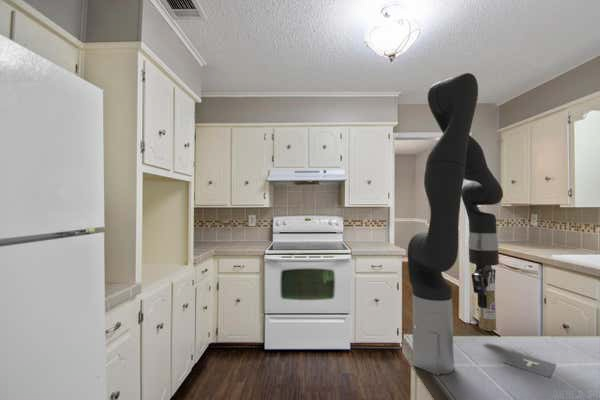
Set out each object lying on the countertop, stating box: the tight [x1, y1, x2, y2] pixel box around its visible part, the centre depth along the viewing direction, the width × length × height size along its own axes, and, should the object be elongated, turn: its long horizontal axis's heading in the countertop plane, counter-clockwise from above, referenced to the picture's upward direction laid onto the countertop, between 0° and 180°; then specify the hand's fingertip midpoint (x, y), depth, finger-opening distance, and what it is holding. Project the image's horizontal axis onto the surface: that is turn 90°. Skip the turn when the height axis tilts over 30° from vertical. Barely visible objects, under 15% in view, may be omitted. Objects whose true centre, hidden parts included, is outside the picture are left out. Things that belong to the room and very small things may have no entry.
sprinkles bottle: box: [477, 282, 497, 332], centre depth 84 cm, size 5×5×14 cm
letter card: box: [503, 351, 557, 379], centre depth 73 cm, size 9×9×1 cm
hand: (485, 305), depth 85 cm, fingers closed on sprinkles bottle, 4 cm apart
